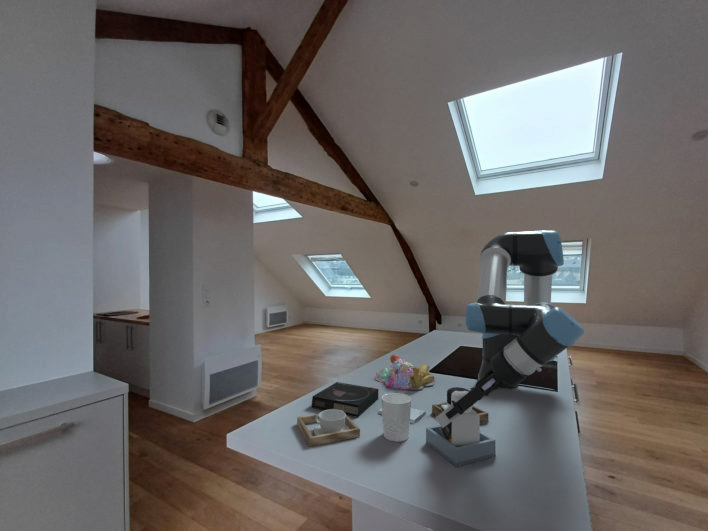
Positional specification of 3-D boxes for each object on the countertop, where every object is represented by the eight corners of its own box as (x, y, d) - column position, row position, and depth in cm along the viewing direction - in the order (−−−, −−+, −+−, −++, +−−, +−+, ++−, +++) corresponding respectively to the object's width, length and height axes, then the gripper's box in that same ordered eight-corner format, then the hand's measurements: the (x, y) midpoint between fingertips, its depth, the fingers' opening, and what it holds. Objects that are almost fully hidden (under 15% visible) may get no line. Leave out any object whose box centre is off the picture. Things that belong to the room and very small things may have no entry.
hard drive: (425, 410, 103) (390, 401, 110) (414, 420, 96) (377, 409, 103) (425, 416, 103) (390, 406, 110) (414, 425, 96) (377, 415, 103)
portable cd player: (311, 409, 107) (311, 396, 107) (336, 393, 122) (336, 382, 122) (357, 419, 100) (357, 405, 100) (378, 400, 115) (378, 388, 115)
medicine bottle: (440, 432, 85) (440, 385, 86) (467, 431, 86) (467, 384, 86) (451, 446, 78) (450, 395, 78) (480, 445, 79) (479, 394, 79)
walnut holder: (461, 407, 108) (461, 399, 108) (488, 421, 98) (488, 413, 98) (432, 412, 104) (432, 404, 104) (457, 428, 93) (457, 419, 93)
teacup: (355, 427, 94) (355, 410, 94) (341, 443, 84) (341, 425, 85) (323, 421, 97) (323, 405, 97) (306, 436, 88) (307, 418, 88)
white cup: (410, 444, 84) (410, 404, 84) (379, 441, 85) (379, 402, 86) (411, 430, 92) (411, 394, 92) (383, 427, 93) (383, 391, 93)
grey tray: (461, 434, 89) (461, 420, 90) (495, 456, 79) (495, 440, 79) (426, 442, 85) (426, 427, 85) (456, 466, 74) (456, 449, 74)
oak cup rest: (341, 416, 100) (341, 409, 100) (359, 436, 88) (359, 428, 88) (297, 424, 95) (297, 416, 95) (310, 446, 82) (310, 438, 82)
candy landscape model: (442, 379, 139) (442, 357, 139) (422, 396, 119) (422, 370, 120) (389, 369, 153) (389, 349, 153) (363, 383, 133) (363, 360, 133)
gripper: (518, 390, 64) (440, 447, 73) (536, 365, 82) (472, 414, 91) (489, 358, 68) (418, 416, 77) (512, 341, 86) (453, 390, 95)
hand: (447, 415), depth 84 cm, fingers closed on medicine bottle, 10 cm apart
